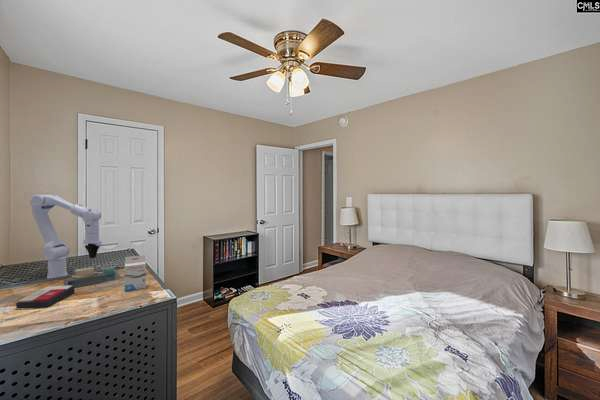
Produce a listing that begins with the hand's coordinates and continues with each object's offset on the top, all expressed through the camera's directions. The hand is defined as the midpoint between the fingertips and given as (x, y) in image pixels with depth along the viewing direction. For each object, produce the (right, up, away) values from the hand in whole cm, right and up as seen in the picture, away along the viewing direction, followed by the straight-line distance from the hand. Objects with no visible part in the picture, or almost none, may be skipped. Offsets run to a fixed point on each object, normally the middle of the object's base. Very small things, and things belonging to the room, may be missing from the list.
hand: (92, 257), depth 142 cm
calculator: (+7, -11, -33) cm, 35 cm away
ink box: (+35, -10, -19) cm, 41 cm away
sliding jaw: (+5, -9, -5) cm, 11 cm away
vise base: (+6, -10, -7) cm, 13 cm away
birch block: (+4, -9, -10) cm, 15 cm away
